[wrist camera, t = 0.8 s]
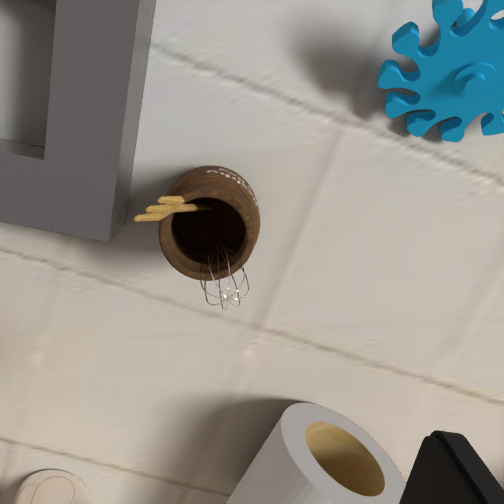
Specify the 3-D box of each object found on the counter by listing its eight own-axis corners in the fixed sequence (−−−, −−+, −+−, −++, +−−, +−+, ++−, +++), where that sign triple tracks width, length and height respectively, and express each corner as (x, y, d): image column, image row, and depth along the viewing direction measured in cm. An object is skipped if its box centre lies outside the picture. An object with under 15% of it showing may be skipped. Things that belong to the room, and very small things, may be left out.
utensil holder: (206, 266, 31) (190, 359, 19) (147, 195, 29) (90, 251, 18) (274, 217, 30) (299, 283, 18) (217, 140, 28) (205, 161, 17)
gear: (343, 112, 26) (478, -50, 18) (346, 46, 29) (465, -121, 20) (485, 173, 29) (658, 61, 21) (476, 109, 32) (626, -14, 23)
